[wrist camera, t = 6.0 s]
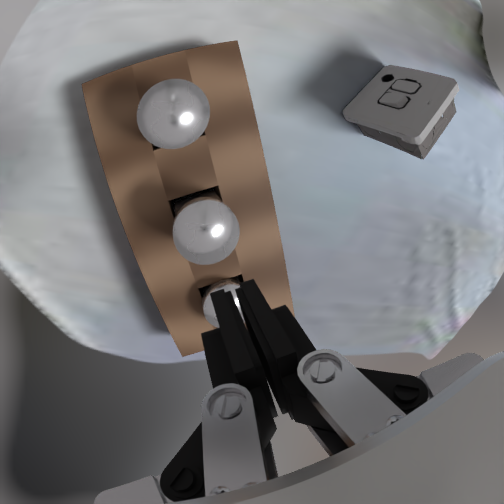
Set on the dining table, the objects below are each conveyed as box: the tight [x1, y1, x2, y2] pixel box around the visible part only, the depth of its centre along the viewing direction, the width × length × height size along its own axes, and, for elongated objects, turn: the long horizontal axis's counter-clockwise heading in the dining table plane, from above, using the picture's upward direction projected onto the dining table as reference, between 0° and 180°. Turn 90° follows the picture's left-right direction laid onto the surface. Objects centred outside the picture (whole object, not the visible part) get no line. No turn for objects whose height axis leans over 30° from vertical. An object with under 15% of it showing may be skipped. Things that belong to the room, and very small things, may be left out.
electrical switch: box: [343, 65, 459, 159], centre depth 22 cm, size 9×5×9 cm, turn 137°
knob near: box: [137, 79, 210, 149], centre depth 17 cm, size 4×4×4 cm
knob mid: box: [173, 191, 240, 265], centre depth 21 cm, size 4×4×4 cm
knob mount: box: [82, 41, 295, 357], centre depth 24 cm, size 26×12×4 cm, turn 13°
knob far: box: [202, 276, 245, 328], centre depth 27 cm, size 4×4×4 cm
